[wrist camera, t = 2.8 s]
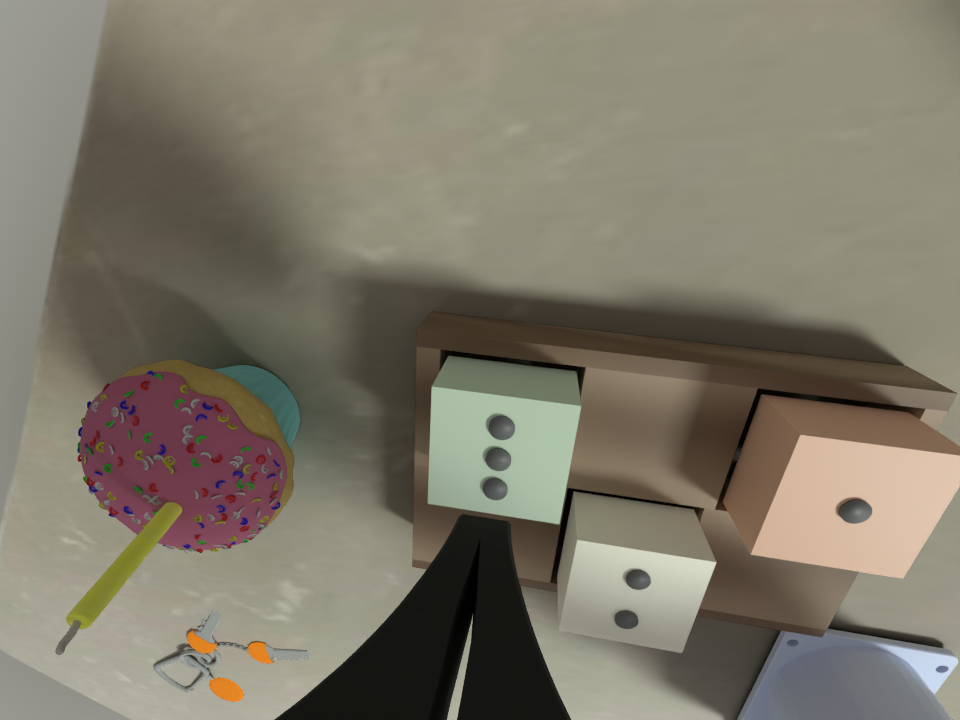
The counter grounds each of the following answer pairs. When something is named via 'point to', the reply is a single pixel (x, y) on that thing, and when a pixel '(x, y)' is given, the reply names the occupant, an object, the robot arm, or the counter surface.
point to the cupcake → (185, 462)
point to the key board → (664, 446)
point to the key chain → (206, 644)
